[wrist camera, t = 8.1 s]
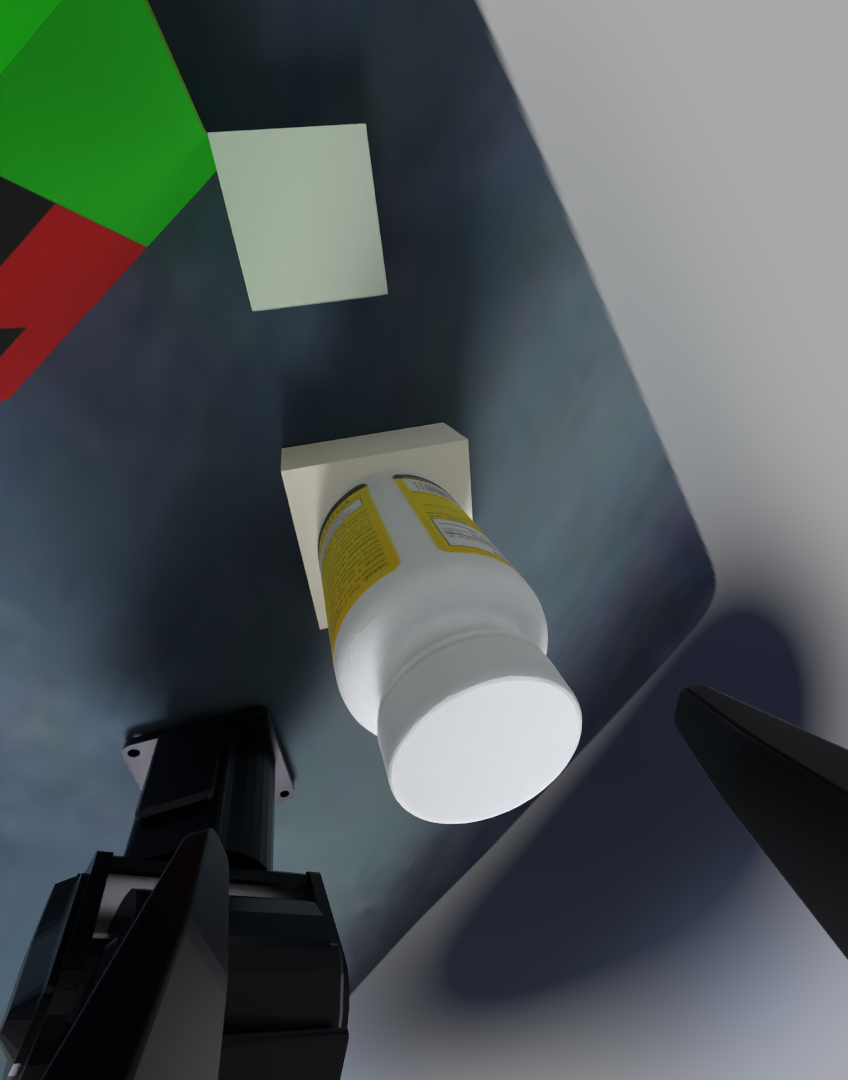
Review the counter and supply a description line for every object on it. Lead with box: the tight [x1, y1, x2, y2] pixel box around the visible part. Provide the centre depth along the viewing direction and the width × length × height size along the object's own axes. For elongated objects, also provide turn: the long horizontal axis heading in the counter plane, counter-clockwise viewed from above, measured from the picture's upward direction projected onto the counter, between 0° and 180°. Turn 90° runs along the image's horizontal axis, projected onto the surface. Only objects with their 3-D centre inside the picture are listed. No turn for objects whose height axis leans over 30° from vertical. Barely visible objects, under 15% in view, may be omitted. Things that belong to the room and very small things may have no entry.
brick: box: [207, 123, 388, 311], centre depth 14 cm, size 4×4×3 cm
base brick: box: [281, 422, 473, 630], centre depth 19 cm, size 6×6×3 cm
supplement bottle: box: [317, 471, 582, 824], centre depth 13 cm, size 5×5×10 cm
